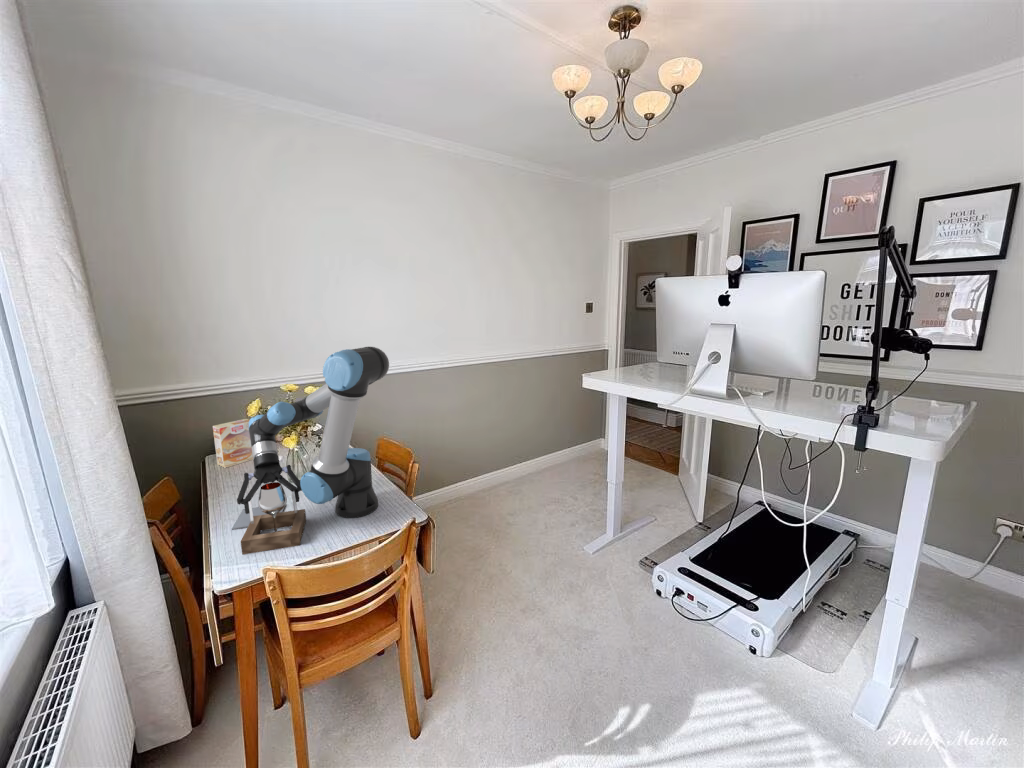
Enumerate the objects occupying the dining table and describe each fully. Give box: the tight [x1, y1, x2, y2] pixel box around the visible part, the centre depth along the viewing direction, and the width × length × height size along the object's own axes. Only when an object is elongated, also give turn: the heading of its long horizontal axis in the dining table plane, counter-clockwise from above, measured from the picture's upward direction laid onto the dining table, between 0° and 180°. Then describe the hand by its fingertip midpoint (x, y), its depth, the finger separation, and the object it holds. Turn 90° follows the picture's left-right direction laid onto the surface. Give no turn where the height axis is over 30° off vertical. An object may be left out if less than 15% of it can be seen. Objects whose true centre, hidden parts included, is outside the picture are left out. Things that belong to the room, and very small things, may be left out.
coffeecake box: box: [212, 418, 254, 469], centre depth 198 cm, size 15×7×20 cm, turn 149°
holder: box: [240, 508, 307, 555], centre depth 137 cm, size 16×16×4 cm
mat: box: [231, 506, 285, 531], centre depth 150 cm, size 14×14×1 cm
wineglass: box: [257, 481, 288, 533], centre depth 136 cm, size 8×8×18 cm
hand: (274, 516), depth 134 cm, fingers open, 12 cm apart
